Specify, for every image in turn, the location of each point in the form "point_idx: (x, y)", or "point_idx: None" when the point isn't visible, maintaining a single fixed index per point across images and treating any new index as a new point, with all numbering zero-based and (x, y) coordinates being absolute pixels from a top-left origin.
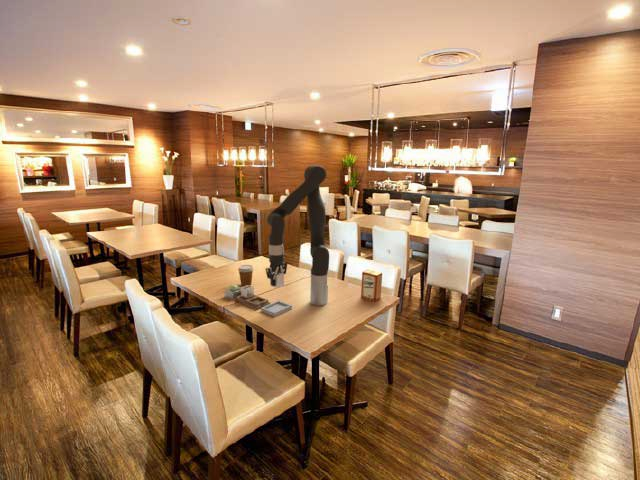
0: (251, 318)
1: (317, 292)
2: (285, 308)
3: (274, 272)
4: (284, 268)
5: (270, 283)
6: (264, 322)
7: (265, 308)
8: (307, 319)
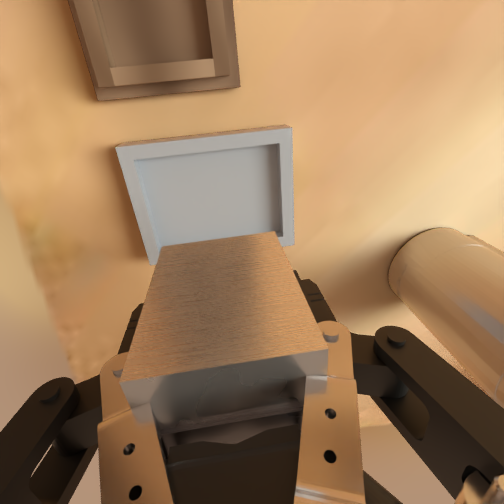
0: (20, 185)
1: (436, 336)
2: None
3: (223, 392)
4: (435, 460)
5: (157, 267)
6: (74, 269)
7: (137, 177)
8: None
